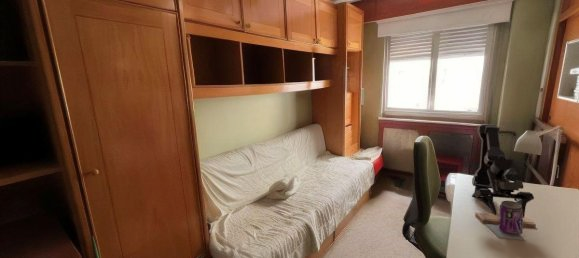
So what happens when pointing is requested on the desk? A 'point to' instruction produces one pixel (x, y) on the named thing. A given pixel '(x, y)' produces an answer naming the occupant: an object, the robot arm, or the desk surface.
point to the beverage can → (511, 217)
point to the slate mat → (503, 233)
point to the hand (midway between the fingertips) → (509, 216)
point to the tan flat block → (495, 219)
